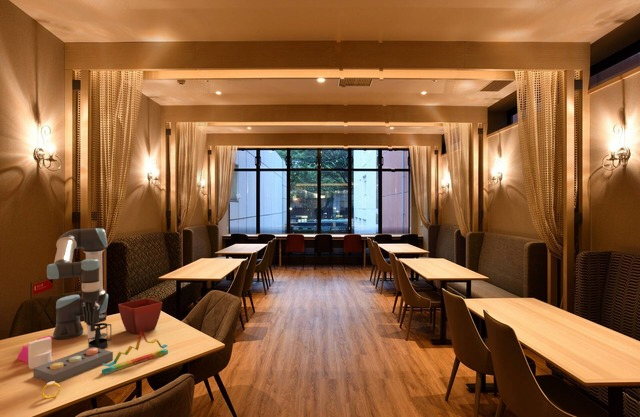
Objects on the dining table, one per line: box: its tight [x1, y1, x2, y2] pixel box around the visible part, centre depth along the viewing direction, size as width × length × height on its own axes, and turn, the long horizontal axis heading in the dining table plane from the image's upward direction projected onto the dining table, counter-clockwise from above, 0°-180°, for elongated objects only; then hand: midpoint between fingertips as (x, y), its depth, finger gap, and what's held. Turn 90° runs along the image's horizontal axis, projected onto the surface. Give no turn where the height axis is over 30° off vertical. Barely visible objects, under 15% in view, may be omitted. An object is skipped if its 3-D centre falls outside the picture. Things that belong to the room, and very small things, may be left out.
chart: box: [101, 331, 169, 376], centre depth 176 cm, size 30×3×15 cm, turn 141°
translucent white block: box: [27, 337, 53, 370], centre depth 175 cm, size 9×9×12 cm
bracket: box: [16, 334, 53, 363], centre depth 184 cm, size 12×10×10 cm
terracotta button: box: [85, 348, 98, 357], centre depth 178 cm, size 5×5×3 cm
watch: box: [41, 381, 61, 400], centre depth 145 cm, size 6×3×6 cm, turn 120°
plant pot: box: [118, 297, 163, 335], centre depth 224 cm, size 19×19×17 cm
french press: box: [87, 305, 112, 350], centre depth 196 cm, size 12×9×23 cm
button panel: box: [32, 347, 114, 384], centre depth 171 cm, size 16×27×4 cm, turn 154°
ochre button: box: [50, 362, 64, 370], centre depth 164 cm, size 5×5×3 cm
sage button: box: [69, 356, 81, 363], centre depth 171 cm, size 5×5×3 cm
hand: (91, 337), depth 178 cm, fingers closed
